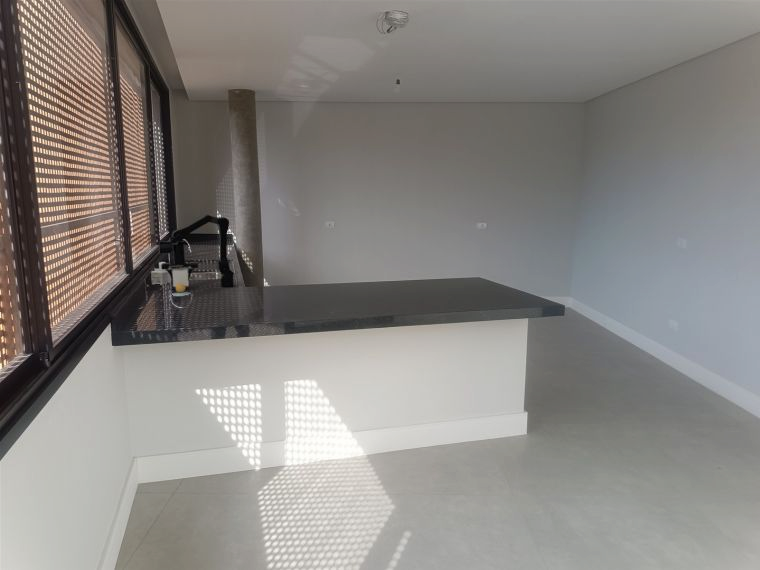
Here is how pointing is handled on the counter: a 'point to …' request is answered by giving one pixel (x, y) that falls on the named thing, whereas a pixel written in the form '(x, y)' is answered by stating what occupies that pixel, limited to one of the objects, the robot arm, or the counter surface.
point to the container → (160, 274)
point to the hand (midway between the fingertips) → (180, 280)
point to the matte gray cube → (180, 276)
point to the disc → (181, 294)
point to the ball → (180, 287)
